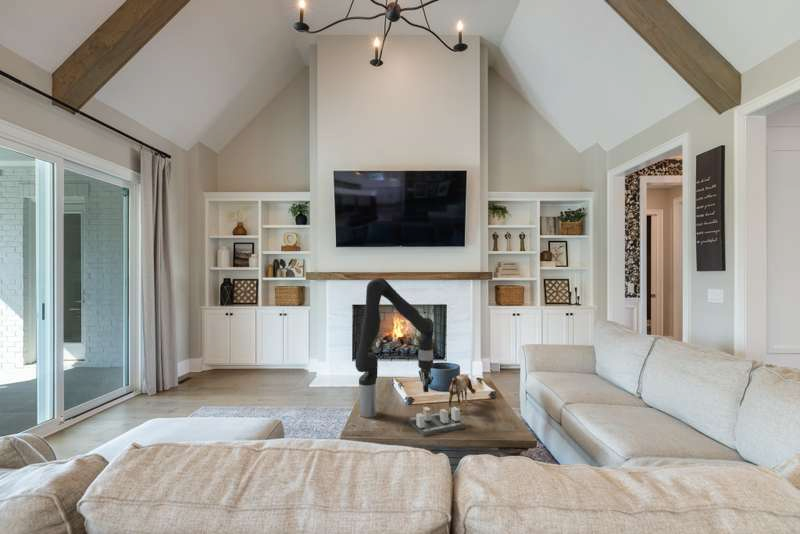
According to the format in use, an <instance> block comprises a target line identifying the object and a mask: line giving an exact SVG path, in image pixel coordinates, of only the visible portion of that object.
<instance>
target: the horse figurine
mask: <svg viewBox="0 0 800 534" xmlns="http://www.w3.org/2000/svg"><path fill="white" fill-rule="evenodd" d="M467 389H468V390H469V391H470V393H471V394H473V395H475V393H476V391H477V389H474V387H473V385H472V381H471V379H470V378H469V377H468V376H466V375H465V374H464V375H463V374H458V375H456V376H454V377H453V378H452V379H451V384H450V386H449V389H448V391H449V397H448V413H449V414H451V408H452V407H451V405H452V399H453V397H454V396H455V395H456V397H457V403H458V407H457V408H458V409H459V410H460V411H461V403H464V406H468V401H467V400H468V399H467V397H468V396H467V394H468V392H467ZM460 396H461V399H460ZM460 402H461V403H460Z"/></svg>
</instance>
